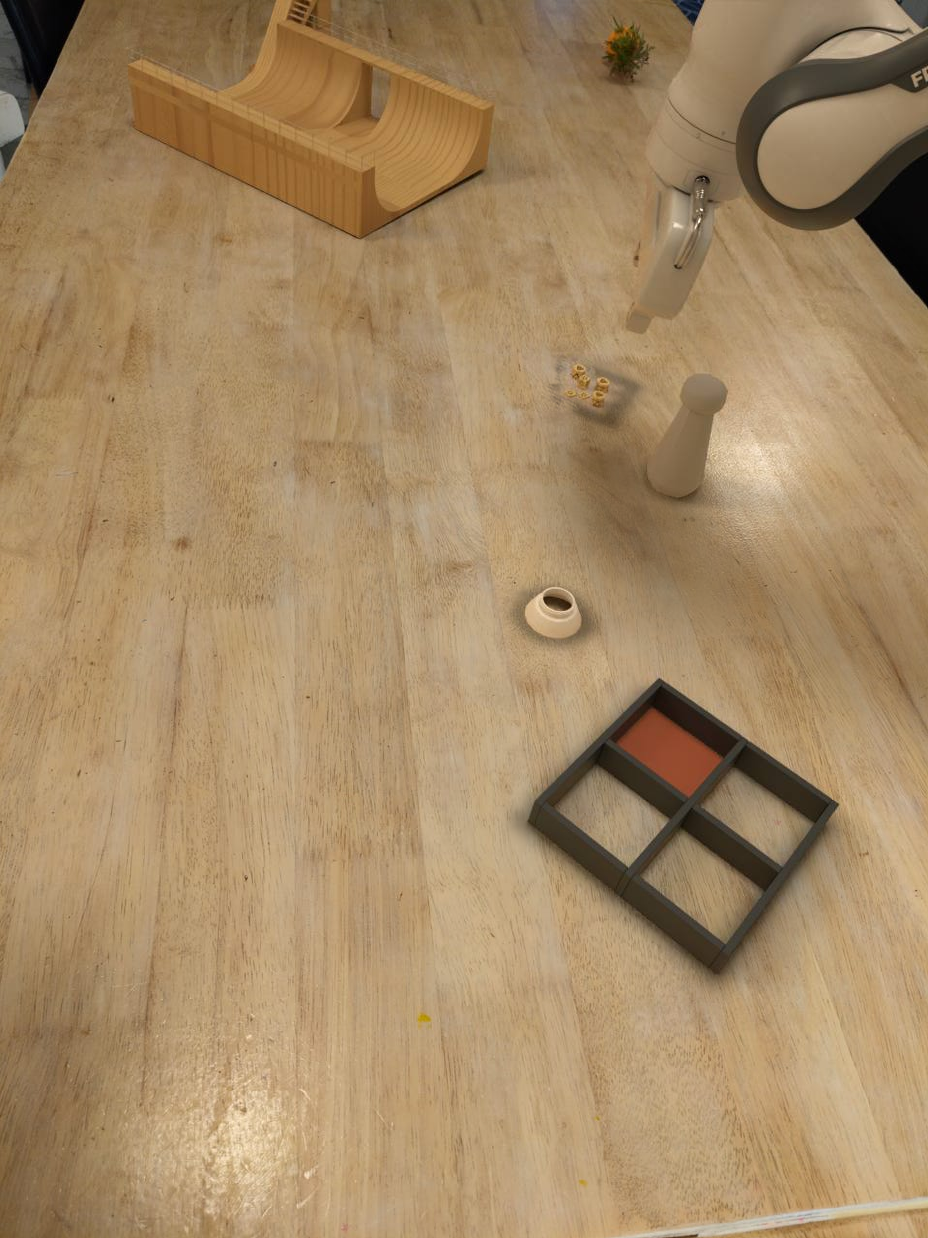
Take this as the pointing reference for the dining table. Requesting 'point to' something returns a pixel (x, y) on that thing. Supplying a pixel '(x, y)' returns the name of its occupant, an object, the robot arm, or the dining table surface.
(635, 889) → the grid
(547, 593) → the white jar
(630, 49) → the christmas decoration
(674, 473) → the beige game pawn
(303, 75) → the skate ramp
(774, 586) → the dining table surface
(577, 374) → the golden ring cluster
